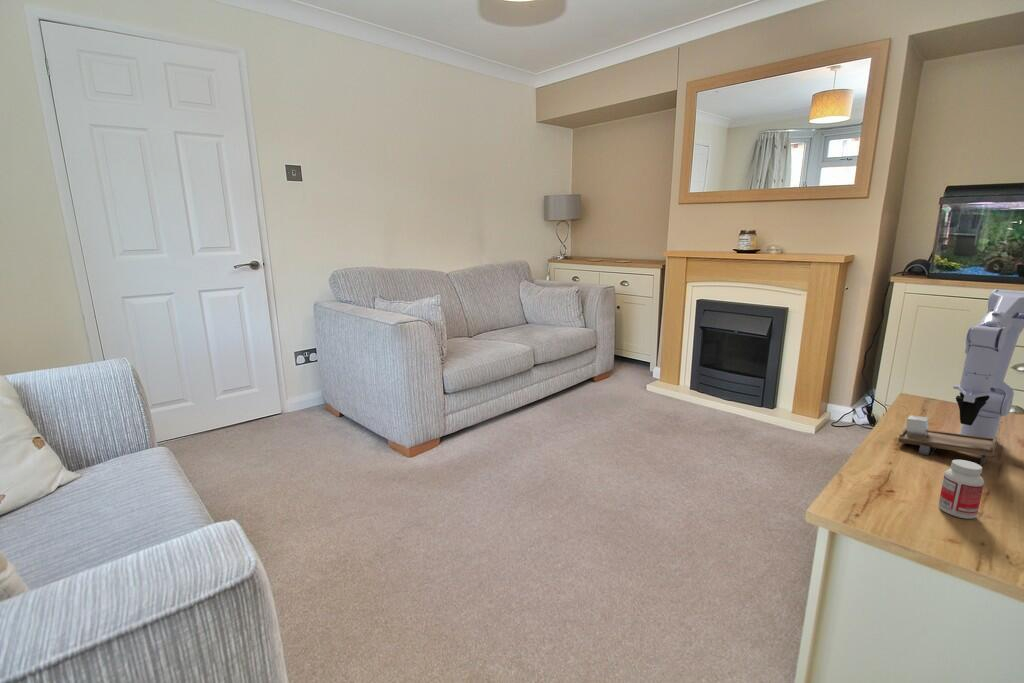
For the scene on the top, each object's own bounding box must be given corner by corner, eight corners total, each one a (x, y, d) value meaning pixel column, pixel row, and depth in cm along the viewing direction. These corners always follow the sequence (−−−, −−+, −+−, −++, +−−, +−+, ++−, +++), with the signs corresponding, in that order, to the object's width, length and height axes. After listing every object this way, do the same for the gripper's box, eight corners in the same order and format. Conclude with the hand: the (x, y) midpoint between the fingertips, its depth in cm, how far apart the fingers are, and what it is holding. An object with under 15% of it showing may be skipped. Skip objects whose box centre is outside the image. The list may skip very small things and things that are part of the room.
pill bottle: (980, 513, 103) (991, 466, 100) (971, 523, 99) (982, 474, 97) (943, 500, 108) (952, 455, 105) (933, 509, 104) (943, 462, 102)
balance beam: (907, 431, 141) (907, 425, 141) (997, 444, 127) (997, 436, 127) (898, 442, 134) (898, 435, 134) (992, 456, 120) (992, 448, 120)
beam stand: (909, 436, 142) (911, 426, 141) (987, 455, 130) (989, 445, 129) (898, 449, 133) (900, 439, 132) (980, 471, 121) (983, 460, 120)
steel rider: (910, 432, 138) (910, 415, 137) (928, 434, 135) (928, 417, 134) (906, 436, 135) (906, 418, 134) (925, 438, 132) (925, 421, 131)
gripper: (962, 364, 131) (952, 411, 134) (952, 374, 122) (941, 424, 125) (998, 369, 126) (987, 418, 129) (990, 380, 117) (979, 433, 120)
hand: (967, 422), depth 127 cm, fingers open, 4 cm apart
